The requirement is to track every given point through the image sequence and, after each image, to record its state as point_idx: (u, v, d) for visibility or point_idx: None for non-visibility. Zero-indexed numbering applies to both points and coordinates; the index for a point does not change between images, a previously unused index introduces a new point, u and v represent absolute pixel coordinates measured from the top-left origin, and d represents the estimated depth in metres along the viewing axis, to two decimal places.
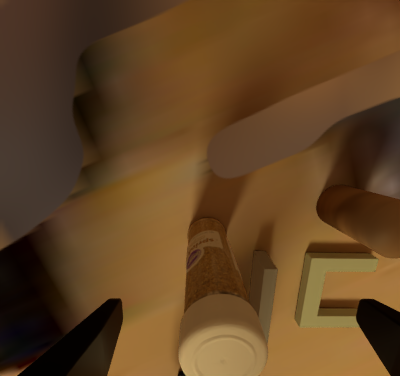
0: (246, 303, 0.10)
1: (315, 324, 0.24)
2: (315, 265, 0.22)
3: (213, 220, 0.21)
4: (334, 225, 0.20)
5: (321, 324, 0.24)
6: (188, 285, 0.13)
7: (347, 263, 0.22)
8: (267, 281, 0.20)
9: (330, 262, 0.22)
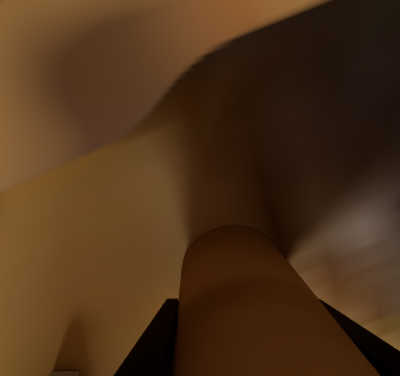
0: None
1: None
2: None
3: None
4: None
5: None
6: None
7: None
8: None
9: None
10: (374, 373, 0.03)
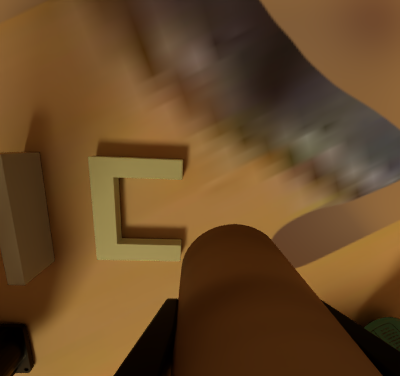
0: None
1: (117, 256, 0.18)
2: (95, 167, 0.16)
3: None
4: None
5: (125, 256, 0.18)
6: None
7: (140, 165, 0.16)
8: None
9: (115, 163, 0.16)
10: (374, 371, 0.03)
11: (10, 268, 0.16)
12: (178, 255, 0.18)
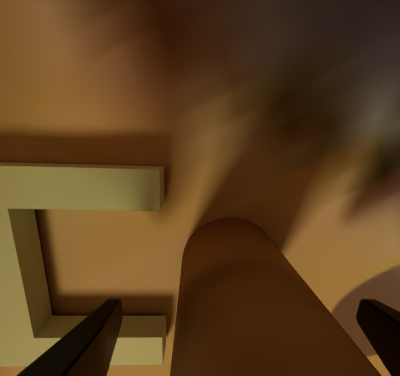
0: None
1: None
2: None
3: None
4: None
5: None
6: None
7: (65, 182, 0.07)
8: None
9: (9, 179, 0.07)
10: (341, 330, 0.04)
11: None
12: (158, 355, 0.09)
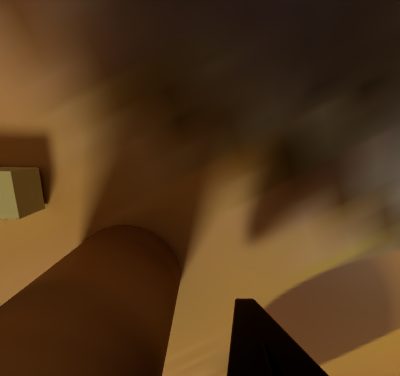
0: None
1: None
2: None
3: None
4: None
5: None
6: None
7: None
8: None
9: None
10: None
11: None
12: None
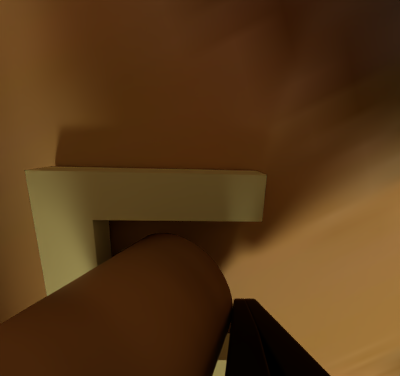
0: None
1: None
2: (47, 198, 0.06)
3: None
4: None
5: None
6: None
7: (160, 190, 0.06)
8: None
9: (98, 186, 0.06)
10: None
11: None
12: None
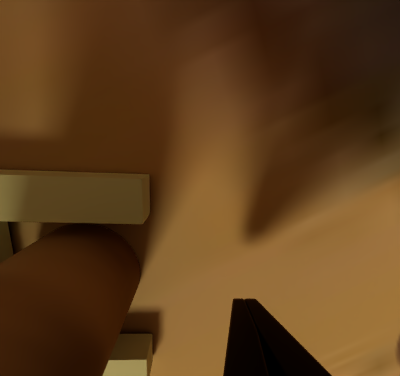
0: None
1: None
2: None
3: None
4: None
5: None
6: None
7: (37, 192, 0.07)
8: None
9: None
10: None
11: None
12: None
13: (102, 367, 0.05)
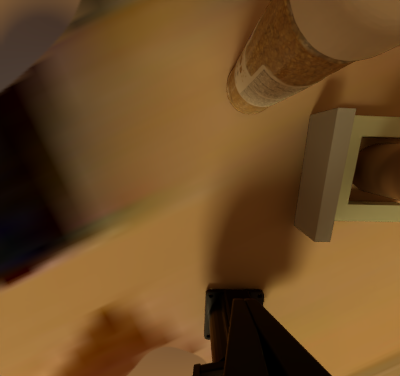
0: None
1: (344, 217, 0.19)
2: None
3: None
4: (376, 188, 0.17)
5: (352, 216, 0.19)
6: None
7: (390, 123, 0.17)
8: (340, 128, 0.15)
9: (368, 122, 0.17)
10: None
11: (322, 225, 0.16)
12: None
13: None
